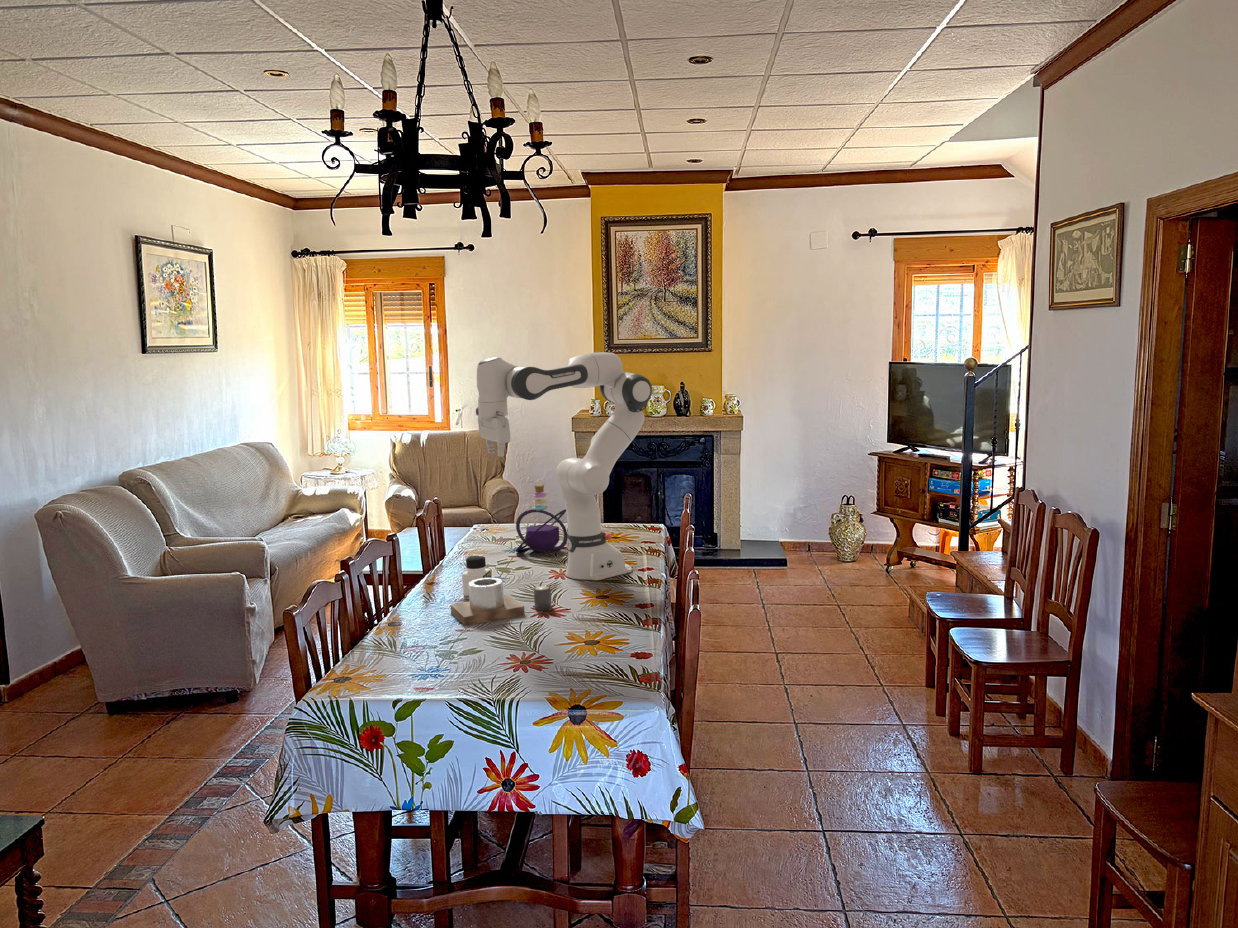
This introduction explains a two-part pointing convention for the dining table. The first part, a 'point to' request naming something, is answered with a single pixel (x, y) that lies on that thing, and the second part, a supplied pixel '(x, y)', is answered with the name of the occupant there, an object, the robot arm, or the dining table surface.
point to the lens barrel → (486, 594)
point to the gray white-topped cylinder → (542, 597)
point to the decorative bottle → (542, 528)
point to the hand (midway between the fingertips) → (496, 454)
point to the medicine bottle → (474, 571)
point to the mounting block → (486, 611)
